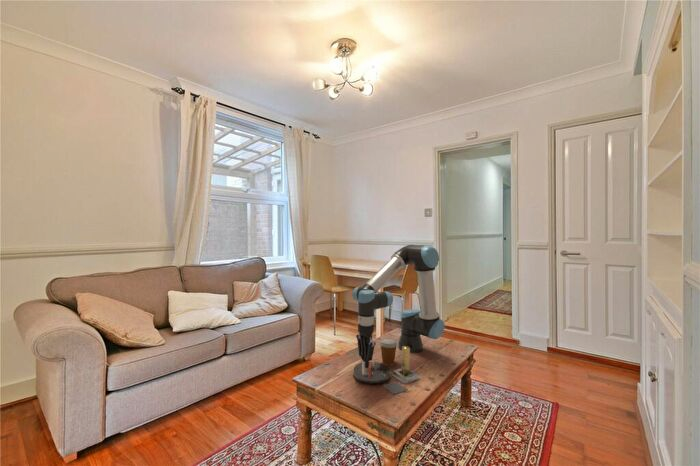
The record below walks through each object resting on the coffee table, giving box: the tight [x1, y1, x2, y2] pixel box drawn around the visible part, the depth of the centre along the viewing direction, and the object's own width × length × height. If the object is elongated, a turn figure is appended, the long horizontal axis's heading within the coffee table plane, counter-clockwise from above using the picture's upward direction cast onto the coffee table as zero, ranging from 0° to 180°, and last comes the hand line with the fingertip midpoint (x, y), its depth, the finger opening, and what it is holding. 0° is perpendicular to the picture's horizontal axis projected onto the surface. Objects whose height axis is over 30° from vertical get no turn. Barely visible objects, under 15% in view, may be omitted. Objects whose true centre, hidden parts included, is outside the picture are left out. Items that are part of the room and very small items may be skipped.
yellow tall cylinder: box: [401, 346, 411, 376], centre depth 147 cm, size 4×4×15 cm
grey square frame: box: [392, 367, 420, 385], centre depth 148 cm, size 9×9×2 cm
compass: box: [353, 361, 391, 384], centre depth 148 cm, size 18×18×7 cm
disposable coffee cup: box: [379, 337, 398, 366], centre depth 163 cm, size 10×10×12 cm
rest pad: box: [382, 381, 408, 396], centre depth 138 cm, size 8×8×1 cm
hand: (365, 373), depth 141 cm, fingers closed
